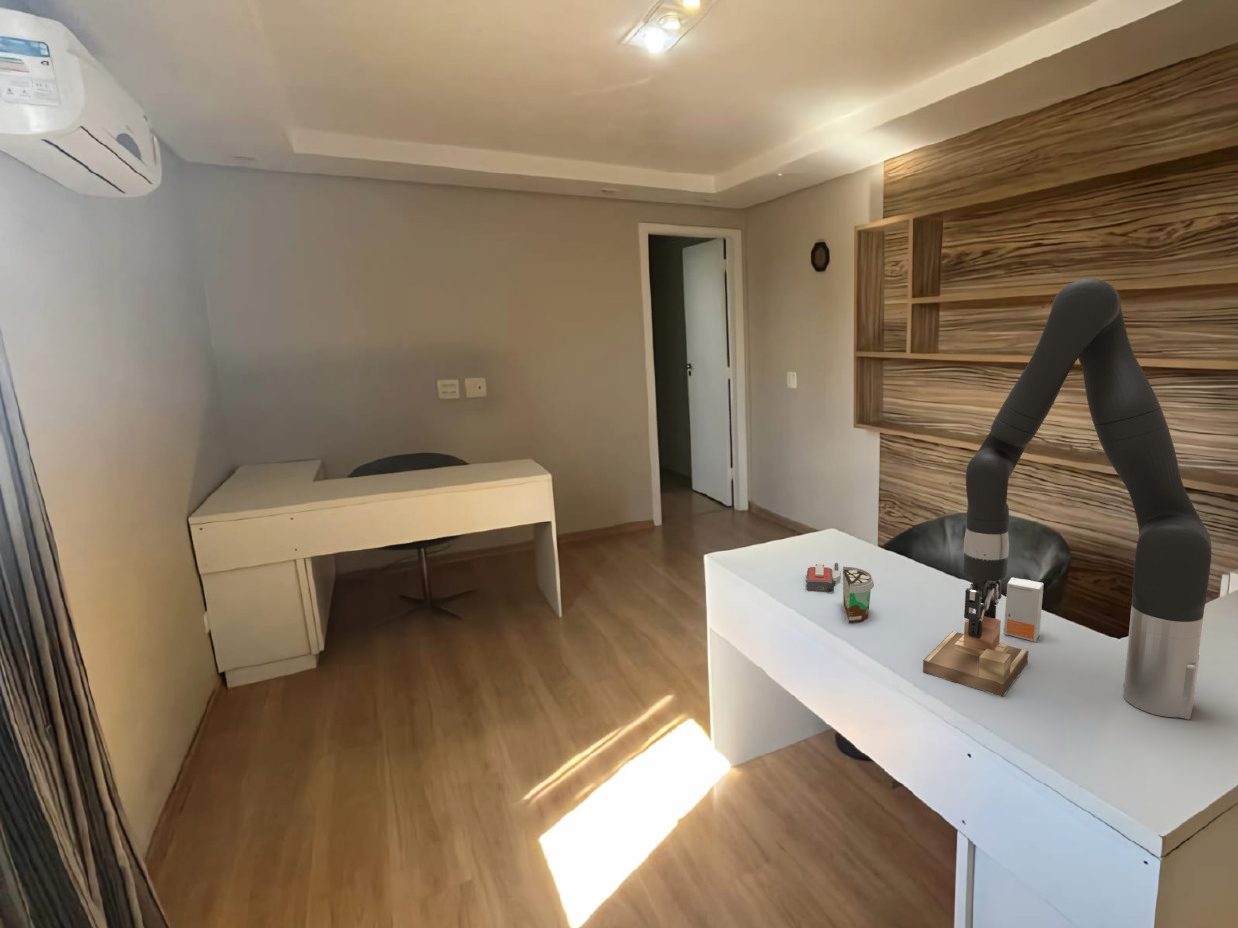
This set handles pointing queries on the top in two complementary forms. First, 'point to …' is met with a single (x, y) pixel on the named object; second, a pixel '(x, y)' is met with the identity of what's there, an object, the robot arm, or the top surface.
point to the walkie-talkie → (822, 578)
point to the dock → (970, 666)
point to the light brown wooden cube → (994, 665)
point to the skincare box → (1023, 609)
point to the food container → (856, 593)
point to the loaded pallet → (982, 638)
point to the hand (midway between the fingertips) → (982, 629)
